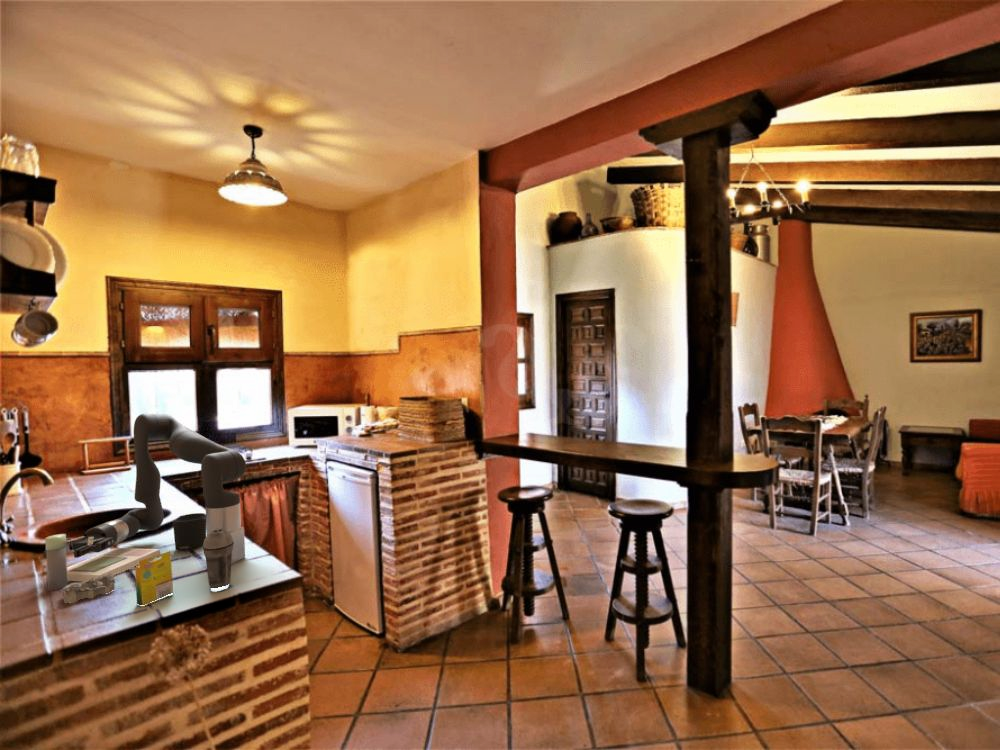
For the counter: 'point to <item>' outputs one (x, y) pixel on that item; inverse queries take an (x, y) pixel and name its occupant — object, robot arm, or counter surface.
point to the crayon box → (153, 578)
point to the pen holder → (190, 531)
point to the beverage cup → (218, 556)
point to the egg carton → (88, 588)
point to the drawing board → (109, 563)
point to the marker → (56, 561)
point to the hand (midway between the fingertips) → (60, 554)
